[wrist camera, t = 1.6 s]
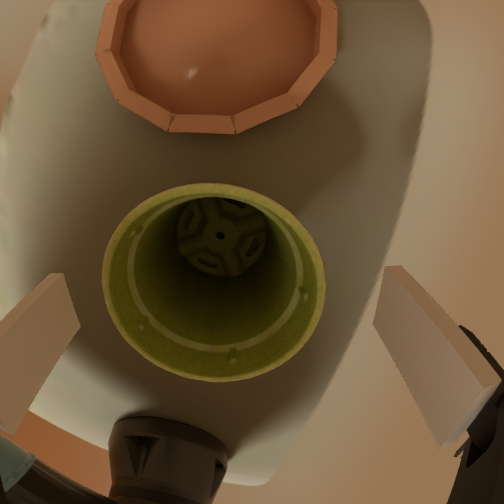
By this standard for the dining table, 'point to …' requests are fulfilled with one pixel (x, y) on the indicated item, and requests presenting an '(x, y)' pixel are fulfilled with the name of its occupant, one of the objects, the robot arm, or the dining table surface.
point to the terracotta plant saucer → (215, 59)
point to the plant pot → (213, 282)
